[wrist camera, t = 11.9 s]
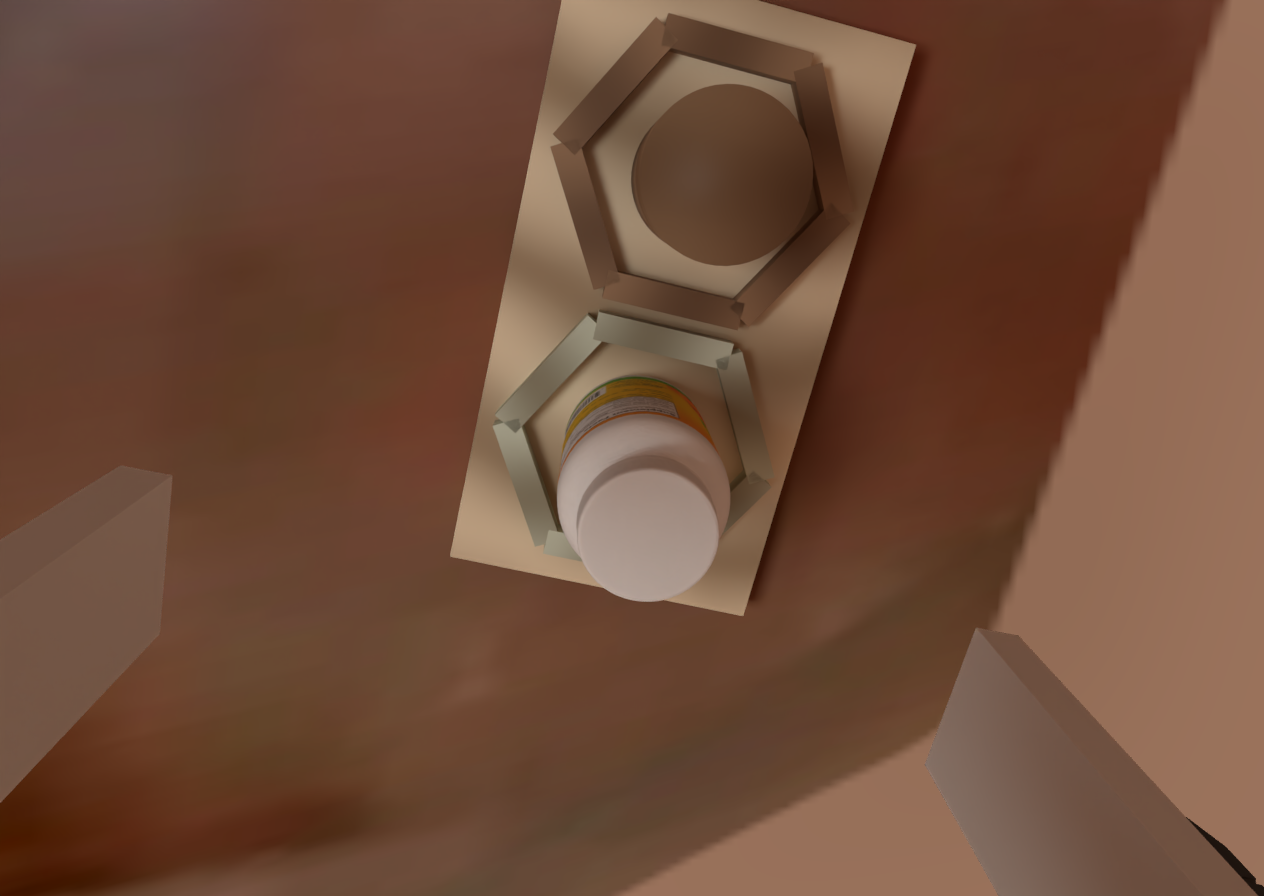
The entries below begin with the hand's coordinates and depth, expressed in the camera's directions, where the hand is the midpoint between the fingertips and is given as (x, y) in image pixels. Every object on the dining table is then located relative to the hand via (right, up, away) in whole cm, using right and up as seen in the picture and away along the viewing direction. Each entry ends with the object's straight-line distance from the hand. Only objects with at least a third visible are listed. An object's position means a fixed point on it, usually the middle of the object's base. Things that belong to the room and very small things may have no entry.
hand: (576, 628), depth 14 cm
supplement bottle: (+1, +3, +20) cm, 20 cm away
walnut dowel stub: (+3, +12, +17) cm, 21 cm away
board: (+2, +8, +20) cm, 21 cm away
